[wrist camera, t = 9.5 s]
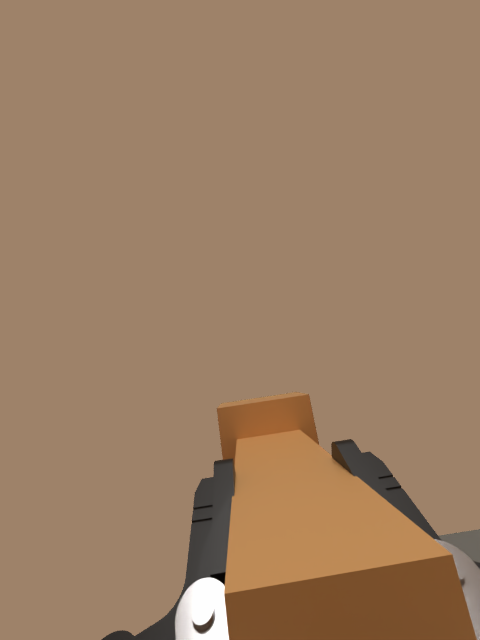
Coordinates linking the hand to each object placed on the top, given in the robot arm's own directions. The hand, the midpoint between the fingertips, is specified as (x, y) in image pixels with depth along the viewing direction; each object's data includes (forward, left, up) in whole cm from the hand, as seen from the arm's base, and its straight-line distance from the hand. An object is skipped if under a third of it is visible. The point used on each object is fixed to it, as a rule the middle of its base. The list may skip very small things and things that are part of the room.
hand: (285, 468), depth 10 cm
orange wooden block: (0, +2, -3) cm, 4 cm away
